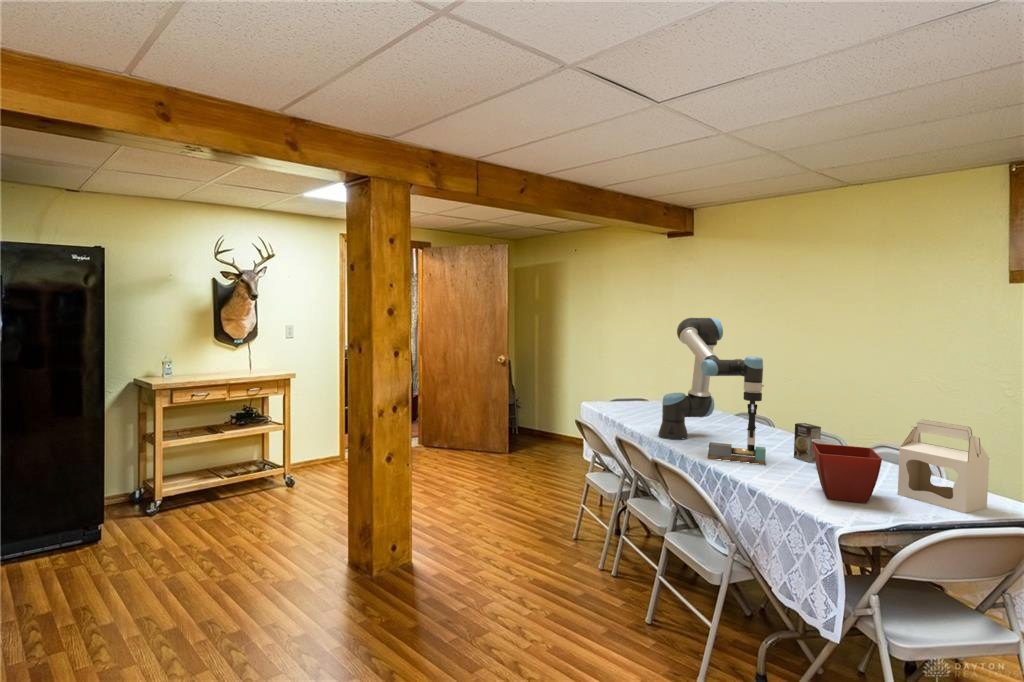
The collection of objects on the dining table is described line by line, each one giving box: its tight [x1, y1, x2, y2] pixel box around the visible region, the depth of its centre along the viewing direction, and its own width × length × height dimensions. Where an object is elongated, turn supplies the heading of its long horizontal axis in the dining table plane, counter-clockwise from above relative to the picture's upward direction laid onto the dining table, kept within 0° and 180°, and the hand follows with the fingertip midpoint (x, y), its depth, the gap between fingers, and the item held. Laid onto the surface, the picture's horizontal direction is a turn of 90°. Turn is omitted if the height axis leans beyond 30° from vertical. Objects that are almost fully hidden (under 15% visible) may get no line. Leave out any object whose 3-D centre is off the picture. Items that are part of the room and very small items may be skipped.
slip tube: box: [731, 422, 756, 457], centre depth 252 cm, size 14×3×14 cm, turn 68°
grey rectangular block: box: [708, 441, 733, 457], centre depth 256 cm, size 10×5×5 cm, turn 68°
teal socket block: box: [754, 445, 767, 462], centre depth 250 cm, size 4×5×5 cm
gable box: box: [897, 419, 990, 514], centre depth 199 cm, size 22×13×28 cm, turn 25°
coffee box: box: [793, 422, 822, 463], centre depth 255 cm, size 9×6×16 cm
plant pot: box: [813, 444, 883, 504], centre depth 203 cm, size 19×19×17 cm
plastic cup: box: [812, 439, 841, 448], centre depth 240 cm, size 11×11×12 cm
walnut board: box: [706, 451, 766, 465], centre depth 254 cm, size 24×7×2 cm, turn 68°
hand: (751, 443), depth 251 cm, fingers closed on slip tube, 3 cm apart
